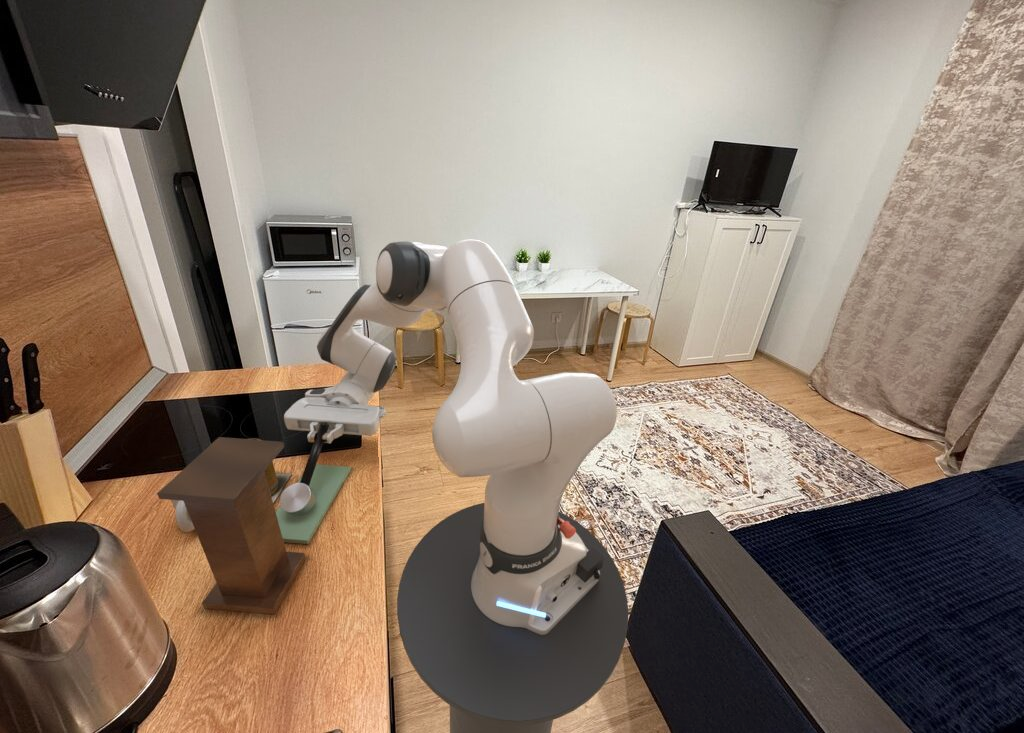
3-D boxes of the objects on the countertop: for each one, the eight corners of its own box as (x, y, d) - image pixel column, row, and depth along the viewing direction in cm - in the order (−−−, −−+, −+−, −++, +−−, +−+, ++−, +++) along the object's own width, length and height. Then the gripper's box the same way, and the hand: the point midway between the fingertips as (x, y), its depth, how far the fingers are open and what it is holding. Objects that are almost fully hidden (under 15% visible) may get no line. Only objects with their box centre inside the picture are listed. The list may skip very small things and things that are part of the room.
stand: (250, 544, 75) (215, 436, 64) (311, 549, 75) (286, 441, 64) (204, 609, 64) (152, 493, 53) (274, 614, 64) (237, 499, 53)
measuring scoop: (314, 423, 90) (309, 417, 88) (339, 425, 90) (335, 419, 88) (281, 514, 80) (274, 511, 77) (310, 517, 79) (304, 513, 77)
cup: (233, 500, 84) (221, 466, 80) (210, 541, 75) (196, 505, 71) (193, 503, 82) (179, 468, 78) (165, 545, 74) (148, 509, 70)
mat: (311, 467, 94) (310, 463, 93) (350, 470, 93) (350, 466, 93) (259, 540, 76) (258, 536, 75) (308, 544, 76) (307, 540, 75)
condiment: (236, 503, 83) (220, 455, 78) (257, 474, 91) (245, 428, 85) (273, 503, 84) (261, 456, 78) (292, 474, 91) (281, 430, 86)
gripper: (389, 418, 100) (369, 455, 88) (305, 412, 100) (273, 448, 88) (387, 396, 97) (366, 431, 85) (300, 389, 97) (267, 423, 85)
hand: (318, 440), depth 86 cm, fingers closed on measuring scoop, 2 cm apart
